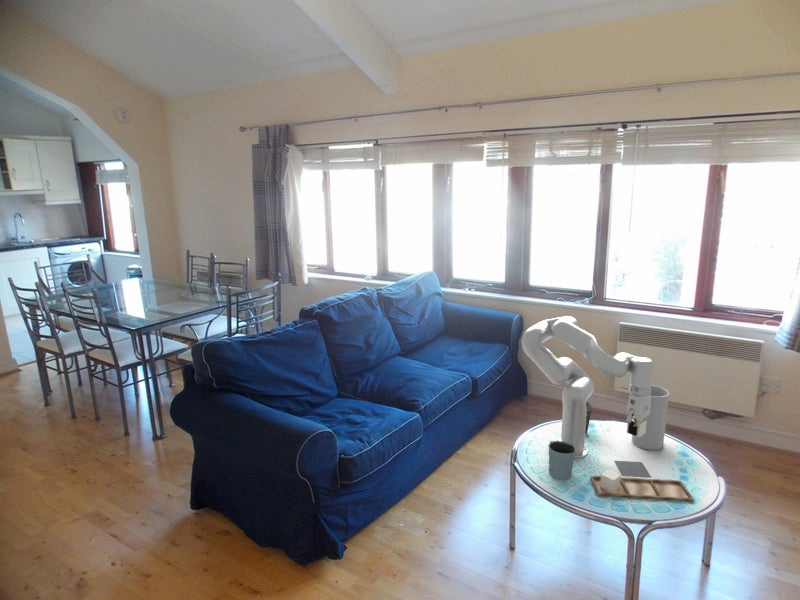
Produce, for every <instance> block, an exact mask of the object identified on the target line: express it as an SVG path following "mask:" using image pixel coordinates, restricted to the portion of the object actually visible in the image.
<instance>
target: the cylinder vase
mask: <svg viewBox="0 0 800 600" xmlns="http://www.w3.org/2000/svg"><path fill="white" fill-rule="evenodd" d="M669 397H670V392H669V390H667V389H665V388H663V387H660V386H656V385H651V411H650V414H649V415H648V416H647V417H646V420H647V423H646V433H645V434H644V435H642V436H640V437H637V436H634V435H632V434H631V442H632V443H633V444H634V445H635V446H637V447H639V448H641V449H643V450H644V449H645V450H648V451H657V450H660V449H662V448H663V447H664V442H665V441H664V440H665V433H666V423H667V415H668V406H669Z"/></svg>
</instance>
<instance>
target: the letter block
mask: <svg viewBox="0 0 800 600" xmlns="http://www.w3.org/2000/svg"><path fill="white" fill-rule="evenodd" d="M632 421H634V422H635V420H634V419H632ZM646 423H647V420H644V419H641V420H639V421H637V425H636V426H637V435H636V436H637V437H640V436H642V435H644V434H645V433H646ZM626 424H627V425H626V433H627V434H629V433H628V427H629V424H628V422H627V423H626Z"/></svg>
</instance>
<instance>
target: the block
mask: <svg viewBox="0 0 800 600" xmlns="http://www.w3.org/2000/svg"><path fill="white" fill-rule="evenodd" d="M600 476H601V483H600V487H601V488H603V489H605V490H607V491H609V492H611V493H614V492H615V491H617V490H618V489H619V488H620V479H621V477H622V475H621V474H619V473H617V472H615V471H612V470H611V469H606V471H604V472H603V473H601V474H600Z"/></svg>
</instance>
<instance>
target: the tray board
mask: <svg viewBox="0 0 800 600" xmlns="http://www.w3.org/2000/svg"><path fill="white" fill-rule="evenodd" d="M589 479H590V481H591V483H592V486H593V488H594V491H595V493H596V496H597V497H601V498H602V497H605V498H620V499H621V498H622V499H636V500H638V499H640V500H652V501H653V500H655V501H657V500H658V501H671V502H672V501H673V502H689V503H694V502H695V498H694V497H693V496H692V494H691V493H690V491H689V490H688V489H687V487H686V486H685V484H684V483H683V482H682V480H679V479H678V480H677V479H676V480H675V479H674V480H672V479H660V478H658V479H655V478H654V479H653V478H643V477H624V476H621V479H620V488H619V489H618V490H617V491H615V492H614V493H611V492H609V491H607V490H605V489H603V488H601V487H600V483H601V475H590V477H589Z"/></svg>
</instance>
